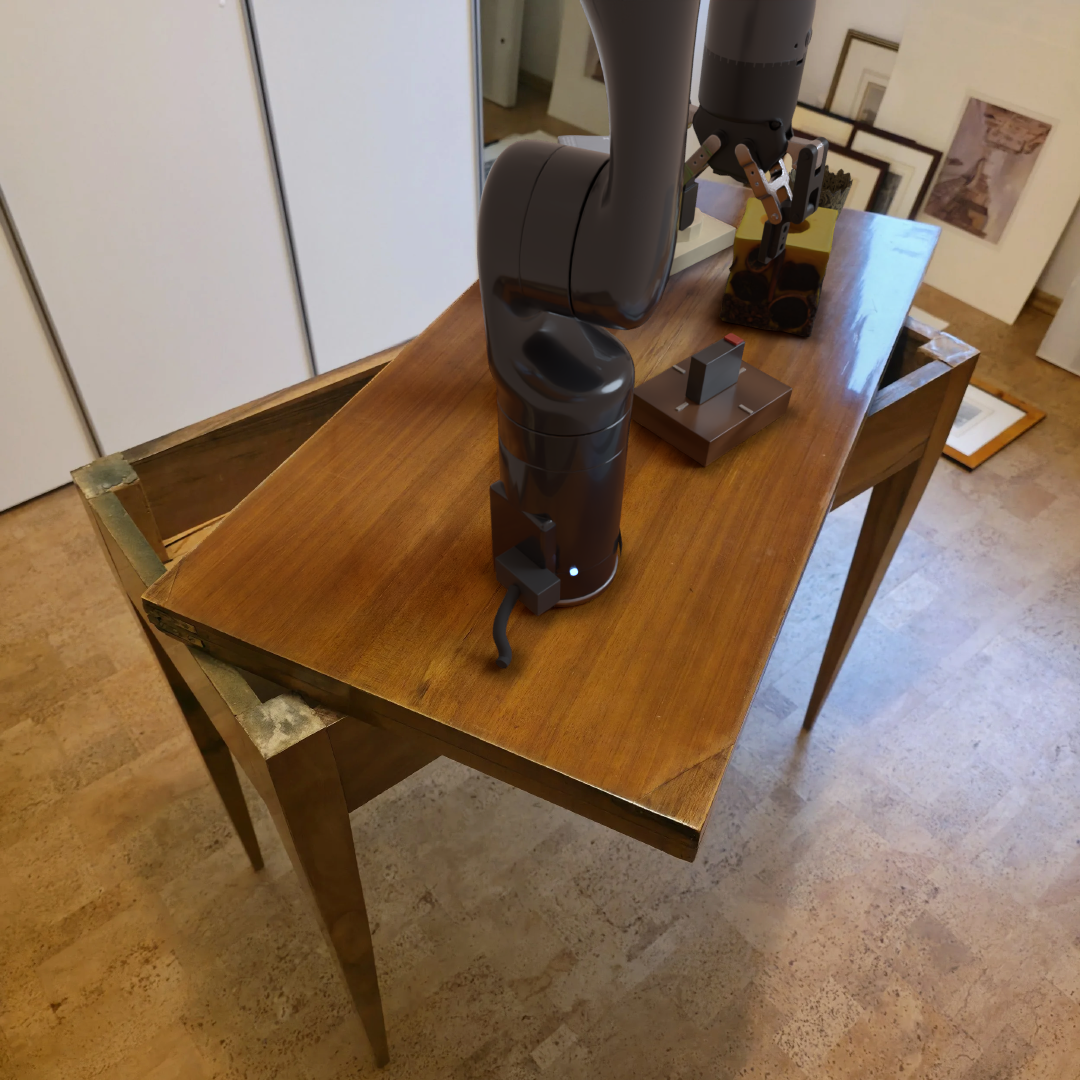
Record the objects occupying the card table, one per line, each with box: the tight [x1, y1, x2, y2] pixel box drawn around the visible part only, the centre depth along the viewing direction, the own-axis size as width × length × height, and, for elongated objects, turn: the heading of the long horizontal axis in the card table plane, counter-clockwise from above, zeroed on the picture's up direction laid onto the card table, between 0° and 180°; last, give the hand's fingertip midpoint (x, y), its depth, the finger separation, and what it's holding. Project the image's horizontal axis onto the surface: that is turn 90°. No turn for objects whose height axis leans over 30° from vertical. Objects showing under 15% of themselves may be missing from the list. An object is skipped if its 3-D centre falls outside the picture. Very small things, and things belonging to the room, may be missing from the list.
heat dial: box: [685, 332, 746, 405], centre depth 81 cm, size 6×2×5 cm, turn 131°
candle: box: [718, 196, 838, 338], centre depth 95 cm, size 10×10×10 cm
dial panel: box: [631, 343, 793, 468], centre depth 84 cm, size 12×10×3 cm
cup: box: [788, 164, 854, 222], centre depth 106 cm, size 8×7×8 cm
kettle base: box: [669, 206, 737, 277], centre depth 107 cm, size 12×10×4 cm
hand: (724, 242), depth 76 cm, fingers open, 8 cm apart
